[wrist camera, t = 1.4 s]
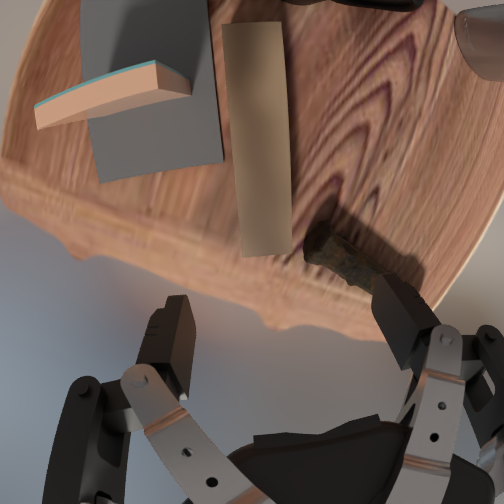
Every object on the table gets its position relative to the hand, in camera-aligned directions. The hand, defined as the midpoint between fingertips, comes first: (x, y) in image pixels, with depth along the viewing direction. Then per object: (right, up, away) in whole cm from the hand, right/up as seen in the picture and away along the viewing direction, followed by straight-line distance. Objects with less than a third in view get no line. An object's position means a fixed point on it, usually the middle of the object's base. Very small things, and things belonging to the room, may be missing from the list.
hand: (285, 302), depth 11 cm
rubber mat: (-11, +19, +7) cm, 23 cm away
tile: (-10, +15, +8) cm, 20 cm away
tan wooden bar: (-1, +12, +11) cm, 16 cm away
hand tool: (+12, 0, +19) cm, 22 cm away
